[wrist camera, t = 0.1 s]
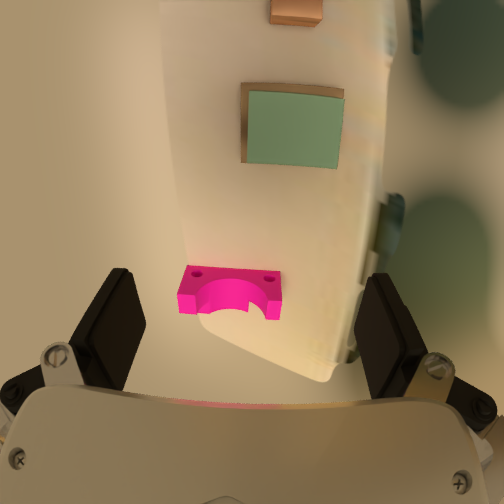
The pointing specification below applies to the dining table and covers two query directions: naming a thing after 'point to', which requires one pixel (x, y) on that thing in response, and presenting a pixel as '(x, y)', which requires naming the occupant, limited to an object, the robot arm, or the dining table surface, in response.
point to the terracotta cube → (296, 12)
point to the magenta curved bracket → (229, 290)
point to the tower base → (282, 88)
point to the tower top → (294, 129)
